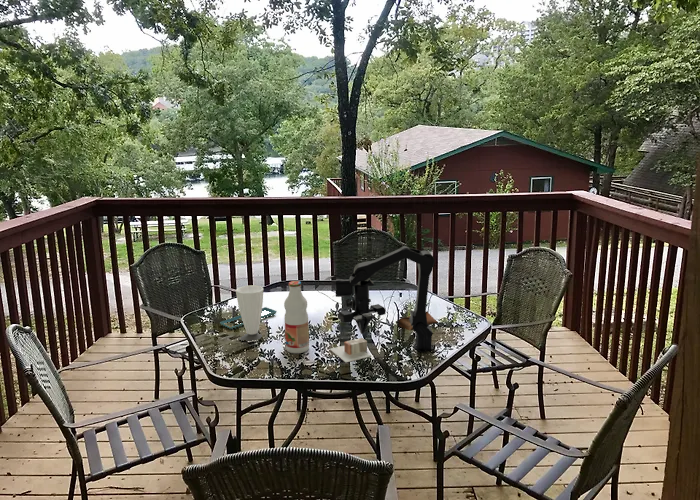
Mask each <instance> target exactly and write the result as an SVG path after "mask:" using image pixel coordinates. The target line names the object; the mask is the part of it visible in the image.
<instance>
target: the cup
mask: <svg viewBox="0 0 700 500" xmlns="http://www.w3.org/2000/svg"><path fill="white" fill-rule="evenodd" d="M235 293H236V294H235V295H236V299H237V304H238V308H239V314H240V315H241V317H242V321H243V324H244V326H243V327H244V328H245V329H244V330H245V333H247V334H245V333H244V334H245V335H244V336H242V337H241V339H240V338H238V339H239V341H240V340H241V341H240V342H242V340H243V341H244V340H246V341H252V340H257V339H260V338H261V337H262V335H261V334H259V333H258V332H259V328H260V325H261V321H262V320H261V313H262V308H263V303H264V287H262V286H260V285H252V284H251V285H243V286H240V287H237V288H236V290H235Z"/></svg>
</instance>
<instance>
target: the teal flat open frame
mask: <svg viewBox="0 0 700 500" xmlns="http://www.w3.org/2000/svg"><path fill="white" fill-rule="evenodd" d="M264 310H266V311H269V312H271V313H269V314H267V315H264V316H261V318H264V317H267V316H271V315H274V314H275V315H276V314H277V310H276V309H275V310H274V309H272V308H270V307H267V306H264V307H262V311H264ZM275 315H274V316H275ZM271 317H272V316H271ZM239 318H242V317H241V314H240V315H237V316H235V317H231V318H228V319H226V320H222V321H220V322H219V324H220V325H221V326H222V325H223V326H222V327H224V326H225V327H224V328H226V327H227V328H226V329H228V328H229V330H231V329H232V330H234V329H233V328H235V329H237V328H236V327H238V328H240V327H239V326H241V327H243V326H242V325H244V324H243V323H241V324H238V325H235V326H232V327H229V326H227V325H225V324H224V323H227V322H231V321H234V320H237V319H239Z"/></svg>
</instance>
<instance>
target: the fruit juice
mask: <svg viewBox="0 0 700 500" xmlns="http://www.w3.org/2000/svg"><path fill="white" fill-rule="evenodd" d="M301 287H302V282H301V281H299V280H292V281H289V282H288V288H289V292H288V296H286V298H285V299H284V303H283V307H284V309H285V313H284V337H285V339H284V340H285V350H286V351H287V352H288V353H291V354H301V353H305V352H307V351H308V350H309V348H310V335H309V334H310V332H309V330H310V329H309V327H310V326H309V314H308V312H307V308H308V300H307V299H306V297H305V296H304V295H303V292H302V288H301Z"/></svg>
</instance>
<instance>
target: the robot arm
mask: <svg viewBox="0 0 700 500" xmlns="http://www.w3.org/2000/svg"><path fill="white" fill-rule="evenodd" d="M405 259H406V260H410V261H412V262H414V263H416V264H417V269H418V280H417V287H416V288H417V289H416V298H415V307H414V309H413V310H410V311H409V313H410V314H409V315H410V318H409V321H410V323H411V326H412V327H413V331H414V332H415V344H414V345H412V348H413V349H415V350H417V351H418V352H419V353H426V352H430V351H433V350H435V349H436V348H435V347H434V346H432V343H433V342H432V341H433V339H432V337H433V335H434V333H433V331H432V328H431V326H430V324H427V316H426V312H427V301H428V291H429V284H430V276H431V274H432V272H433V268H434V266H435V263H436V262H435V261H436V259H435V257H434V255H432V253H431V252H430V251H428V250H425V249H424V250H419V249H416V248H412V247H408V246H406V245H403V246H401V247H400V248H397V249H396V250H394V251H392V252H388V253H387V254H384V255H383V256H382V255H381V256H380V257H378V258H376V259H372V260H367V261H363V262H359V263H357V264H356V265H354V267H353V273H352V274H351V275H350V276H349V279H340V278H335V298H340V297H345V298H347V297H349V298H350V297H351V296H352V295H354V296H353V297H352V300H350V299H349V298H347V299H343V307H344V308H347V309H348V310H347V309H346V310H339V312H338V313H337V319H338V320H340V321H341V322H342V323H345V324H346V323H351V322H353V320H354V321H355V323H356V325H357V328H358V330H359V332H360V334H361V335H362V334H365V332H366V329H368V325H369V324H370V323H371V321H372V320H374V316H372V314H375V313H376V314H377V315H378V316H384V315H386V308H385V307H384V306H383V305H381V304H379V303H376V304H373V305H372V304H371V305H370V303H371V302H372V301H371V300H372V299H371V298H370V286H371V287H373V286H375V284H374V281H373V280H371V277H373V276H374V275H375V274H376V273H377V272H379V271H381V270H383V269H385V268H387V267H389V266H392V265H394V264H395V263H398V262H400V261H402V260H405ZM353 288H354V289H353ZM353 290H354V291H353ZM353 293H354V294H353ZM349 310H351V311H349Z"/></svg>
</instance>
